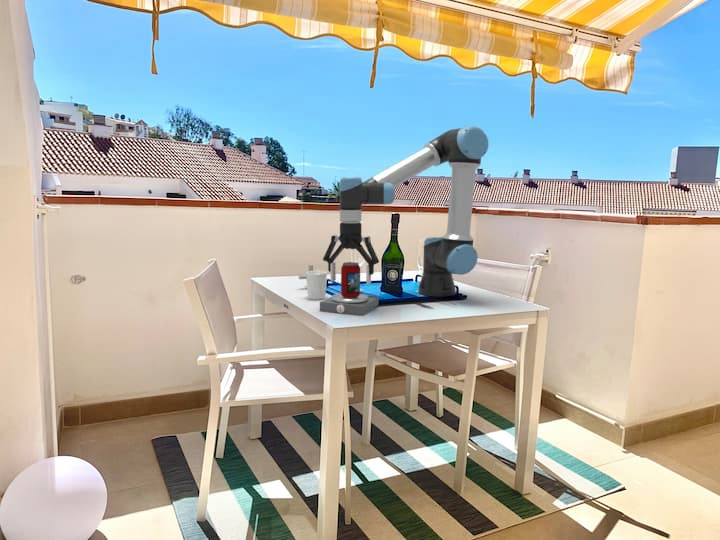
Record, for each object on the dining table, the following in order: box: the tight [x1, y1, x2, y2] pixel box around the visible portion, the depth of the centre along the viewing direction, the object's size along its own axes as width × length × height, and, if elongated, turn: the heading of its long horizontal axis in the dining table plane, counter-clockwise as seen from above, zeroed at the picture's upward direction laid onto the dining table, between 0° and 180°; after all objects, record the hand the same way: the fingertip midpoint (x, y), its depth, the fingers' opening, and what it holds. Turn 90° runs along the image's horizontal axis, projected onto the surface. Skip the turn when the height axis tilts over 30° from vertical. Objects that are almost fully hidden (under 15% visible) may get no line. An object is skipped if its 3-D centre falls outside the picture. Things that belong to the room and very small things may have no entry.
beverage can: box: [340, 261, 361, 298], centre depth 175 cm, size 7×7×12 cm
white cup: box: [305, 270, 328, 301], centre depth 191 cm, size 8×8×10 cm
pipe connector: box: [298, 264, 314, 280], centre depth 209 cm, size 10×10×10 cm
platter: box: [331, 292, 368, 304], centre depth 176 cm, size 13×13×1 cm
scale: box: [319, 292, 379, 316], centre depth 176 cm, size 16×17×3 cm
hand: (350, 282), depth 175 cm, fingers open, 13 cm apart
